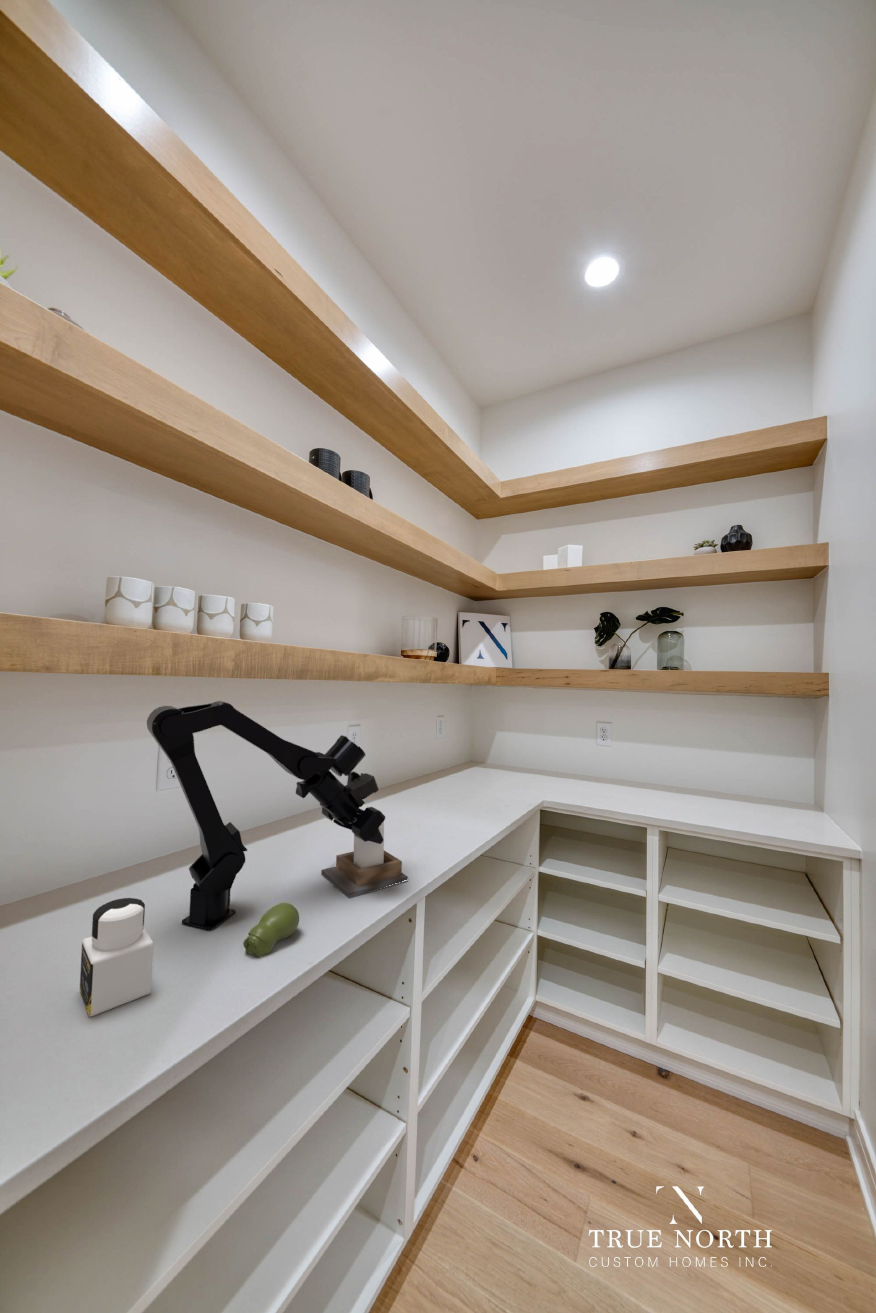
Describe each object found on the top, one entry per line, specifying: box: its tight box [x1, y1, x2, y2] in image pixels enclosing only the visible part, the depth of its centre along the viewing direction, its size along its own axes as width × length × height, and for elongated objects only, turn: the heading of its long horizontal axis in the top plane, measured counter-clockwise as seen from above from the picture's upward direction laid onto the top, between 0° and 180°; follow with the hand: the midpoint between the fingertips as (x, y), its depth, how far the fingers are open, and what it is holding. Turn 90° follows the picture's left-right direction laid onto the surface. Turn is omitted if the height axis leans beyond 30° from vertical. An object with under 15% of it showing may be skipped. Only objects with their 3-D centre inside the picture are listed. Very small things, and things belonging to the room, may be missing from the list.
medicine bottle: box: [79, 897, 154, 1017], centre depth 67 cm, size 7×7×12 cm
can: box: [353, 820, 385, 869], centre depth 107 cm, size 6×6×12 cm
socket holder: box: [320, 850, 409, 899], centre depth 106 cm, size 14×13×4 cm
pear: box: [242, 902, 300, 958], centre depth 81 cm, size 6×5×10 cm
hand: (374, 837), depth 107 cm, fingers closed on can, 6 cm apart
